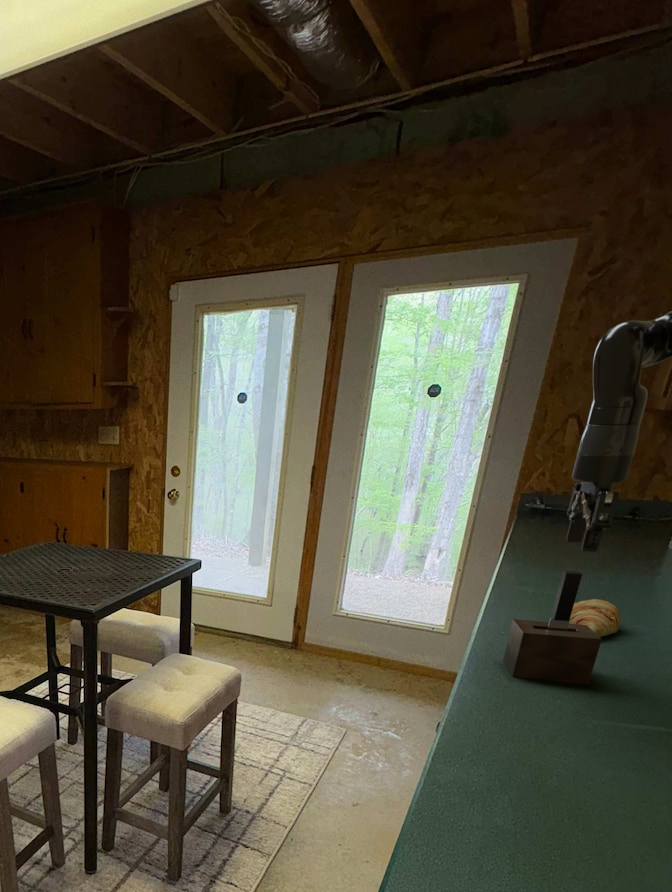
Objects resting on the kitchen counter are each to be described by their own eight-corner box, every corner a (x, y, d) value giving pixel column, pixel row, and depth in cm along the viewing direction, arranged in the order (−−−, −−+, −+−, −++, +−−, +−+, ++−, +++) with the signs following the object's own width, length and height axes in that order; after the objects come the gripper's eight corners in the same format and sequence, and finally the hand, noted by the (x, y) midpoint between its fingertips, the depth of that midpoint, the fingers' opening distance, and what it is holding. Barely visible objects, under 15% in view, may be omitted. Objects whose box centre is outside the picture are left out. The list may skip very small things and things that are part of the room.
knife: (553, 671, 122) (580, 571, 114) (556, 675, 120) (584, 574, 113) (534, 669, 123) (561, 570, 115) (537, 673, 121) (564, 573, 114)
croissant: (599, 658, 135) (631, 631, 130) (554, 630, 139) (583, 603, 134) (601, 629, 150) (630, 604, 145) (560, 605, 154) (587, 579, 149)
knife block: (573, 667, 123) (586, 624, 120) (588, 684, 116) (602, 639, 112) (502, 661, 127) (512, 619, 124) (512, 676, 120) (523, 632, 117)
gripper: (650, 455, 99) (621, 555, 105) (616, 449, 111) (592, 539, 117) (592, 455, 102) (567, 553, 108) (566, 449, 114) (544, 538, 120)
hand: (580, 546), depth 112 cm, fingers open, 8 cm apart
